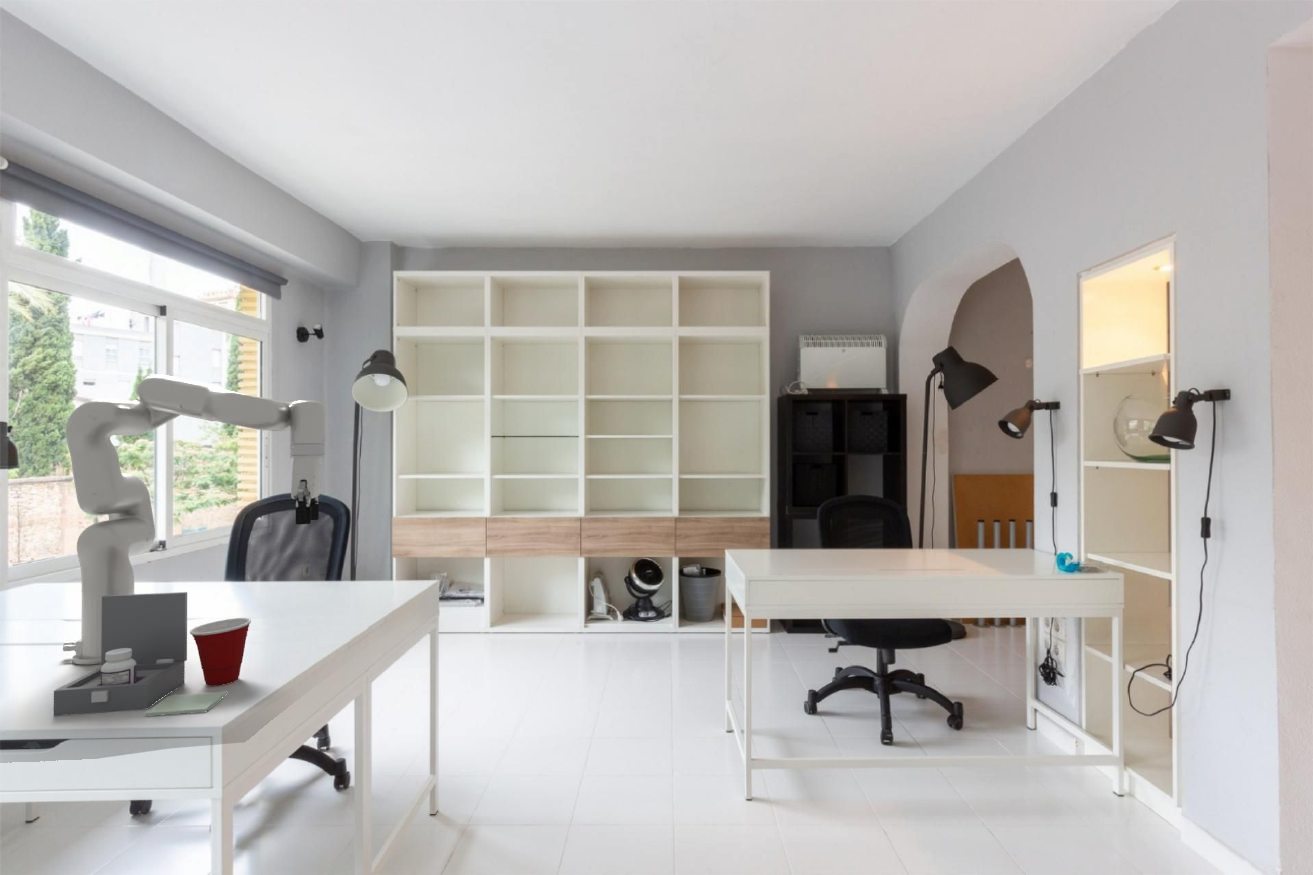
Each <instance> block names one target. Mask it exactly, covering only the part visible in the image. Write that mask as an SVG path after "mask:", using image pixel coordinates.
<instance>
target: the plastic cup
mask: <svg viewBox="0 0 1313 875" xmlns="http://www.w3.org/2000/svg"><path fill="white" fill-rule="evenodd" d="M251 622H252V618H250V617H249V618H248V617H237V618H227V619H221V620H217V621H213V622H208V623H205V624H202V625H198V626H196V627H193V628H192V629H190V630H189V635H191V636H192V638H193V640H194V641H195V645H196V647H197V651H198V652H197V653H198V656H199V662H200V667H201V669H202V673H203V678H204V682H205V685H206V686H208V687H209V686H210V687H218V686H219V687H220V686H224V685H223V684H226V685H228V683H229V684H232V683H235V682H237V681H238V680H239V677H240V673H241V667H242V663H243V660H244V659H243V658H244V652H245V646H246V641H247V636H248V632H249V627H250V624H251ZM236 680H237V681H236ZM234 681H235V682H234ZM231 682H232V683H231Z"/></svg>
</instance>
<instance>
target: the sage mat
mask: <svg viewBox="0 0 1313 875" xmlns="http://www.w3.org/2000/svg"><path fill="white" fill-rule="evenodd" d="M226 694H227V695H228V691H216V692H215V691H214V692H213V691H212V692H202V693H185V694H172V695H171V694H169V696H166V697H165V699H164V698H163V700H162V701H161V700H160V701H159V703H157V704H155V705H153V707H150V709H147V711H146V712H144V715H143V716H144V717H145V716H147V717H155V716H154V715H160V716H163V715H162V714H173V715H181V714H180V713H187V714H192V713H191V712H200V713H206V712H205V711H207V710H208V711H209V710H210V708H211V707H212V706H213V707H215V705H217V704H218V703H219V702H220V701H221V700H223V699H222V697H224V696H225V695H226ZM227 695H226V696H227ZM226 696H225V697H226ZM225 697H224V698H225ZM220 699H221V700H220ZM219 700H220V701H219ZM218 701H219V702H218ZM217 702H218V703H217ZM216 703H217V704H216ZM213 707H212V708H213ZM212 708H211V709H212ZM208 711H207V712H208ZM178 713H179V714H178ZM145 718H146V717H145Z"/></svg>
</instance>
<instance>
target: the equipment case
mask: <svg viewBox="0 0 1313 875" xmlns="http://www.w3.org/2000/svg"><path fill="white" fill-rule="evenodd" d="M121 648H131V649H132V656H131V657H130V658H132V659H134V660H135V661H136V669H137V677H136V678H137V679H136V682H137V683H133V684H118V685H103V686H101V667H102V665H103V664H105V663H106V662H107V661H106V660H105V654H106V652H108V651H111V650H115V649H121ZM186 661H188V592H187V591H181V592H180V591H178V592H158V593H157V592H155V593H152V592H151V593H136V594H135V593H134V594H129V595H106V596H102V636H101V664H100V666H99V667H97V668H96V669H94V670H91V671H90V672H88V673H86V674H84V675H82V676H80V677H77V678H76V679H74V680H71V682H68V683H66V684H64V685H62V686H60V687H58V688H56V689H55V690H53V717H57V716H69V715H70V716H71V714H72V715H84V714H85V715H86V714H97V713H98V714H99V713H111V712H125V711H137V710H148V709H149V708H151V707H152V706H153V705H152V704H154V703H155V702H156V701H158V700H159V699H161V698H162V697H164V696H165V695H167V694H168V693H170V692H171V691H173V692H174V691H175V689H176V688H177V689H178V688H180V687H181V686H183V685H184V684H185V678H186V677H185V668H186V666H185V662H186ZM182 684H183V685H182ZM179 686H180V687H179ZM177 689H176V690H177ZM171 693H172V692H171ZM171 693H170V694H171ZM168 695H169V694H168ZM168 695H167V696H168ZM165 697H166V696H165ZM165 697H164V698H165ZM162 699H163V698H162ZM162 699H161V700H162ZM158 702H159V701H158ZM155 704H156V703H155ZM155 704H154V705H155ZM150 706H151V707H150ZM147 708H148V709H147Z"/></svg>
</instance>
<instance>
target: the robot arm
mask: <svg viewBox="0 0 1313 875" xmlns="http://www.w3.org/2000/svg"><path fill="white" fill-rule="evenodd" d="M136 396H137V399H135V400H125V399H118V398H106V397H105V398H96V399H92V400H89V401H86V402H84V403H82V404H80V405H79V406H78V407H76V408H75V409H74V410H73V411H72V413H71V414H70V415H69V416H68V419H67V421H66V425H65V437H66V443H67V447H68V448H67V449H68V452H69V456H70V460H71V467H72V475H73V480H74V487H75V494H76V499H77V503H78V506H79V508H80V509H81V511H83V512H84V513H86V515H90V516H91V515H92V516H106V515H107V516H108V520H103V521H98V522H96V523H92V524H90V525H89V526H88V527H85V529H84V530H83V531H82V532H81V533H80V535H79V536H78V538H77V541H76V552H77V558H78V562H79V568H80V574H81V639H79V640H67V641H65V642H63V646H62V647H63V648H62V651H63V652H72V651H74V652H75V654H74V655H73V656H72V661H71V662H72V664H75V665H81V666H82V665H87V666H88V665H99V664H100V665H101V636H102V596H106V595H129V594H135V574H134V570H133V566H132V562H131V561H130V557H135V556H137V555H141V554H143V553H144V552H146V551H147V550H149V549H150V548H151V547H152V546H153V544H154V541H155V538H156V527H155V520H154V515H153V508H152V501H151V496H150V492H149V489H148V487H147V485H146V484H145V482H144V481H143V480H142V479H141V478H140V477H137V476H136V475H133V474H130V473H122V470H121V466H120V458H119V454H118V452H117V449H116V448H115V446H114V444H113V443H112V441H111V437H113V436H122V437H123V436H129V437H134V436H135V437H136V436H141V435H145V434H148V433H149V432H152V431H154V430H155V429H157V428H160V427H161V426H163V425H165V424H167V423H169V422H171V421H173V420H174V419H176V418H177V417H180V416H185V417H190V418H194V419H199V420H205V421H208V422H209V421H210V422H218V423H224V424H228V425H233V426H237V427H243V428H247V429H251V430H252V429H253V430H257V431H270V432H287V431H290V436H289V438H290V439H289V440H290V441H289V443H290V444H289V445H290V446H289V448H290V451H289V452H290V453H289V455H290V456H289V457H290V458H293V462H292V472H291V489H290V490H291V491H290V493H291V494H290V497H291V498H292V499H293V500H296V501H295V525H311V523H312V521H318V520H319V519H320V518H319V517H320V504H319V496H320V494H321V484H322V483H321V477H322V476H321V474H322V473H321V458H326V407H325V404H324V403H323V402H321V401H318V400H297V401H296V400H295V401H293V402H289V401H283V400H278V399H272V398H267V397H262V396H261V397H260V396H256V395H251V394H250V395H249V394H244V393H242V392H240V393H239V392H235V391H230V390H227V389H224V388H223V387H221V386H219V385H215V384H209V383H204V382H200V381H195V380H194V381H193V380H189V379H185V378H179V377H175V376H170V375H164V374H153V375H152V374H151V375H149V376H146V377H144V378H143V379H141V381H140V382H139V383H138V384H137V387H136Z"/></svg>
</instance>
